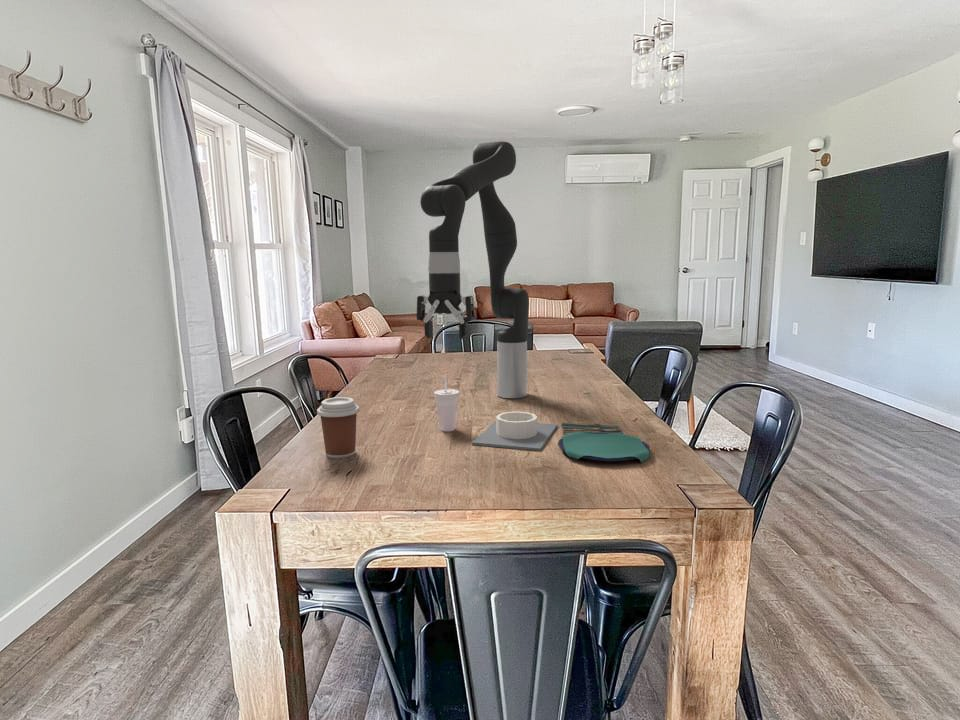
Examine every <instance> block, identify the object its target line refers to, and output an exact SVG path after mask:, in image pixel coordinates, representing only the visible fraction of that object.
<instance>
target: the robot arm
mask: <svg viewBox="0 0 960 720" xmlns="http://www.w3.org/2000/svg"><path fill="white" fill-rule="evenodd" d="M516 164H517V154H516V150H515V147H514V146H513V144H512V143H510V142H508V141H503V140H502V141H492V142H491V141H490V142H481V143H478V144H476V145H475V146H474V148H473V151H472V164H469V165H466V166H464V167H462V168H460V169H459V170H458V171H456V172H455V173H453V174H452V175H450V176H449V177H447V178H445V179H442V180H439V181H437V182H434V183H432V184H430V185H428V186H427V187H425V189H424V190H423V192H422V193H421V196H420V201H419V202H420V206H421V207H420V208H421V210H422V211H423V213H425V214H426V215H427V216H430V217H433V218H434V217H435V218H436V217H437V218H438V217H444V218H443V221H442V223H441V224H440V225H438V226H435V227H432V228H431V229H430V230H429V232H428V241H429V242H428V245H429V246H428V247H429V250H428V251H429V254H428V267H427V269H428V285H429V286H428V290H429V294H428V296H427V295H426V296H425V295H418V296H417V297H416V320H417V321H421V322H423V324H424V335H425V337H426V338H427V339H433V337H434V333H433V332H434V331H433V329H434V328H433V326H434V325H433V323H434V322H432V321H433V319H434V318H435V316H436V315H438V314H439V315H441V314H442V315H443V314H445V315H451V314H452V315H453V316H454V318H456V319H457V321H458V322H459V324H458V333H459V334H458V335H459V337H458V339H459V340H465V338H466V337H467V336H468V323H470V322H472V321H474V320H475V319H476V318H475V305H474V303H475V302H474V296H473V295H467V296H462V293H461V262H460V261H461V260H460V253H459V246H460V245H459V244H460V243H459V235H460V234H459V233H460V230H461V226H462V225H461V224H462V221H463V216H464V213H465V208H466V202H467V201H469V200H470V199H471V198H472V197H474V196H475V195H476V194H477V193H478V196H479V202H480V207H481V214H482V223H483V231H484V232H483V234H484V242H485V248H486V253H487V260H488V262H487V263H488V267H489V268H488V269H489V270H488V271H489V283H490V284H489V285H490V286H489V287H490V303H491V304H490V305H491V311H492V314H493V315H494V317H495V318H497V319H502V320H503V319H505V320H513V323H512V325H511V326H510V327H507V328H505V329H502V330H500V331H498V332H497V334H496V346H497V347H496V348H497V350H496V353H497V355H496V356H497V357H496V361H497V363H496V364H497V367H496V368H497V370H496V371H497V372H496V373H497V374H496V375H497V377H496V379H497V381H496V382H497V390H496V391H497V393H496V394H497V396H498V397H499V398H504V399H521V398H525V397H527V396H528V332H529V311H530V298H529V294H528V292H527V290H526V289H524V288H506V287H505V274H506V272H507V269H508V266H509V265H510V262H512V259H513V257H514V255H515V253H516V250H517V247H518V237H517V228H516V221H515V220H514V218H513V216H512V214H511V213H510V212H509V210H508V209H507V207H506V206H505V205H504V203H503V202H502V200H501V199H500V198H499V196H498V193H497V192H496V188H495V185H494V182H496V181H497V180H500V179H502V178H504V177H505V178H506V177H508V176H510V175H512V173H513V172H514V170H515V168H516ZM428 303H429V305H430V306H431V307H430V308H429V310H428V311H427V313H426V305H427V304H428ZM462 303H463V305H464V306H465V313H464V311H463V310H462V308H461V307H460V305H461V304H462ZM465 314H466V315H465Z"/></svg>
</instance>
